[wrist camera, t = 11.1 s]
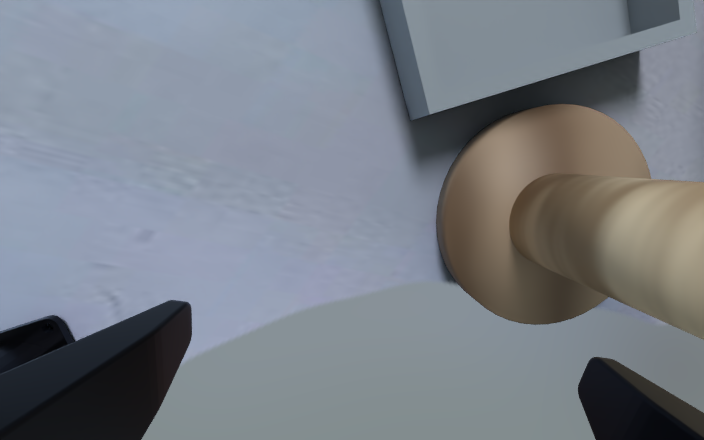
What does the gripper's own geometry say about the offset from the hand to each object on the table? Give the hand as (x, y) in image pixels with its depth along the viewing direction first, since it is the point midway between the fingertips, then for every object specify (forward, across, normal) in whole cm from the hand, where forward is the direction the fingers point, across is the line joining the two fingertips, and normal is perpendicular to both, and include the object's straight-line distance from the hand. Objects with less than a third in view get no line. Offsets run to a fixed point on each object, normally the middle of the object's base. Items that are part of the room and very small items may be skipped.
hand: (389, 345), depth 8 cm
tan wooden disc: (+14, -10, 0) cm, 17 cm away
